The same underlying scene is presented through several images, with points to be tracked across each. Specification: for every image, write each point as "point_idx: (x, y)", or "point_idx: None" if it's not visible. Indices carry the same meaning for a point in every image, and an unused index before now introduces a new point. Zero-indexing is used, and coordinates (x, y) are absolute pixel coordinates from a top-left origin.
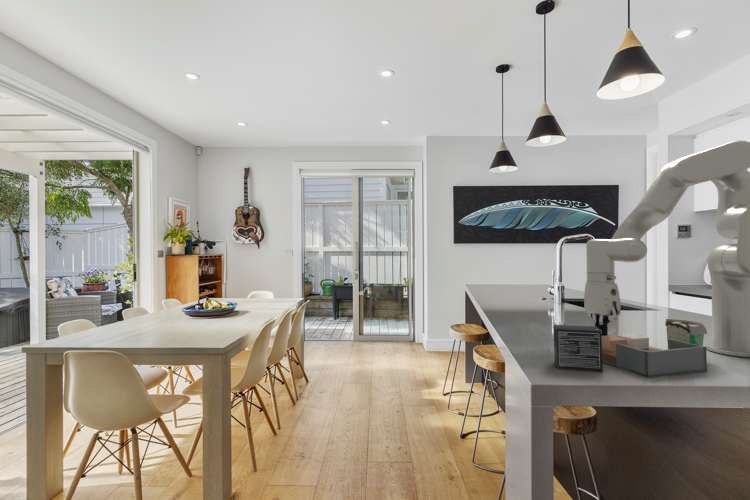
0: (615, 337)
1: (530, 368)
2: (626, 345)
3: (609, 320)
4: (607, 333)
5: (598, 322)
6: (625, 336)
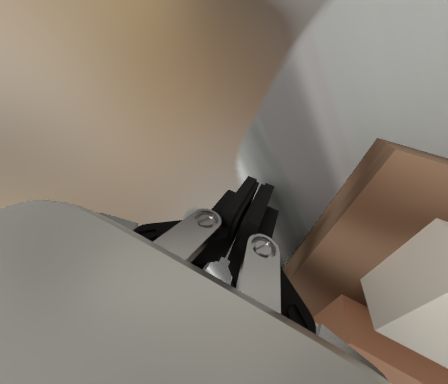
0: (390, 375)
1: None
2: (442, 366)
3: (292, 302)
4: (271, 192)
5: (218, 257)
6: (446, 356)
